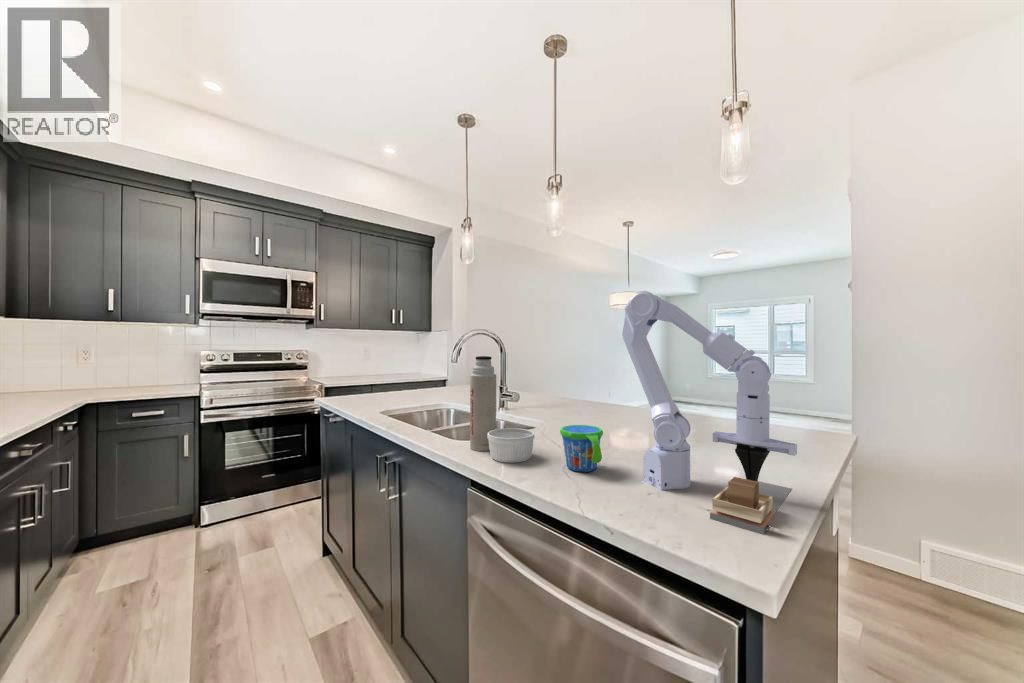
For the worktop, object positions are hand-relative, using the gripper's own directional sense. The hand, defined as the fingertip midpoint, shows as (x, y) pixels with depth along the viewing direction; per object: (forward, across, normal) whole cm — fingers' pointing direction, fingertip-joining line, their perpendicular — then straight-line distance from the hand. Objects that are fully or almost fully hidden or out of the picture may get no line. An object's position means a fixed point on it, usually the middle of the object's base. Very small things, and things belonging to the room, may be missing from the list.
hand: (752, 483), depth 79 cm
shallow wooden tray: (+2, -1, +10) cm, 10 cm away
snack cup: (+4, +37, +7) cm, 38 cm away
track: (+4, -1, +2) cm, 4 cm away
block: (+1, -1, +10) cm, 10 cm away
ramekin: (+4, +56, +13) cm, 58 cm away
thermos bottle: (+4, +69, +12) cm, 70 cm away
